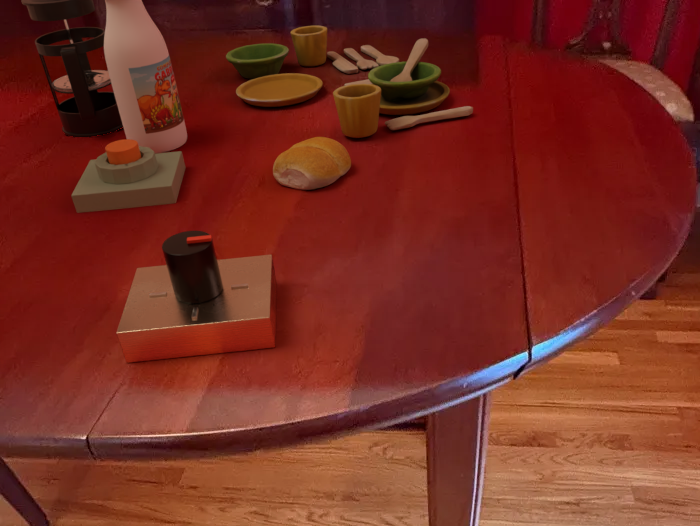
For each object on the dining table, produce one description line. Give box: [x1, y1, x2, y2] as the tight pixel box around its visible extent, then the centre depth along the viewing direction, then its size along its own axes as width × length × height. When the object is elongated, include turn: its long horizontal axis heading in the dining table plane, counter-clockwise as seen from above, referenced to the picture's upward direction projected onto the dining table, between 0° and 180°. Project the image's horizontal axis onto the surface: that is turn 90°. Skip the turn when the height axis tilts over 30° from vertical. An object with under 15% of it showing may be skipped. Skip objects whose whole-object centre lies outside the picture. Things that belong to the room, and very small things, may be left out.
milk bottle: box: [103, 0, 188, 154], centre depth 89 cm, size 8×8×20 cm
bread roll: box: [272, 136, 352, 191], centre depth 83 cm, size 8×9×4 cm
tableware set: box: [225, 24, 474, 139], centre depth 105 cm, size 41×28×6 cm
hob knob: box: [161, 230, 223, 303], centre depth 59 cm, size 4×4×5 cm
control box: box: [70, 146, 186, 214], centre depth 83 cm, size 11×10×4 cm
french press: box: [20, 0, 123, 138], centre depth 95 cm, size 12×9×23 cm
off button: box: [104, 138, 141, 165], centre depth 82 cm, size 4×4×2 cm
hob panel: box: [115, 254, 278, 364], centre depth 61 cm, size 12×10×3 cm
